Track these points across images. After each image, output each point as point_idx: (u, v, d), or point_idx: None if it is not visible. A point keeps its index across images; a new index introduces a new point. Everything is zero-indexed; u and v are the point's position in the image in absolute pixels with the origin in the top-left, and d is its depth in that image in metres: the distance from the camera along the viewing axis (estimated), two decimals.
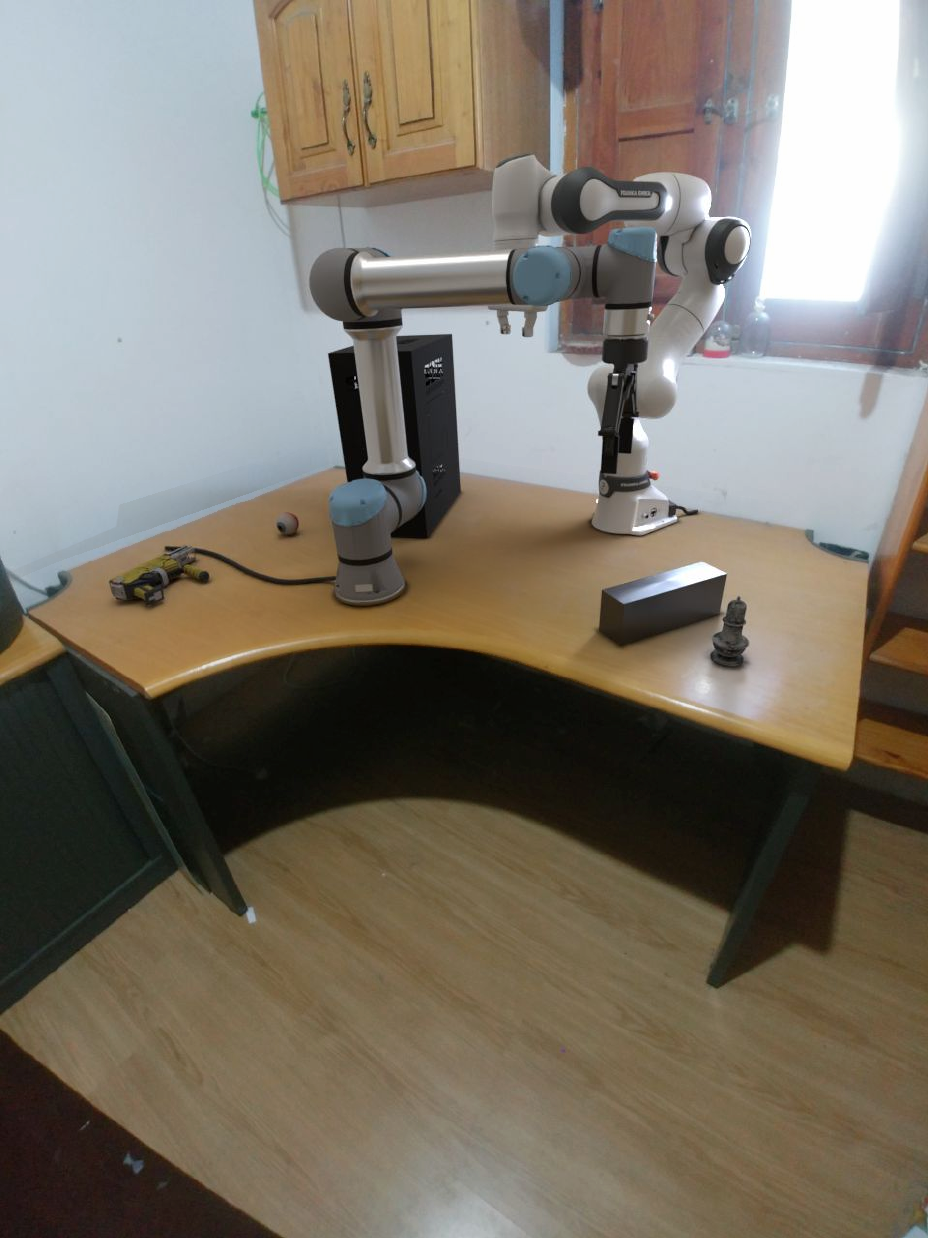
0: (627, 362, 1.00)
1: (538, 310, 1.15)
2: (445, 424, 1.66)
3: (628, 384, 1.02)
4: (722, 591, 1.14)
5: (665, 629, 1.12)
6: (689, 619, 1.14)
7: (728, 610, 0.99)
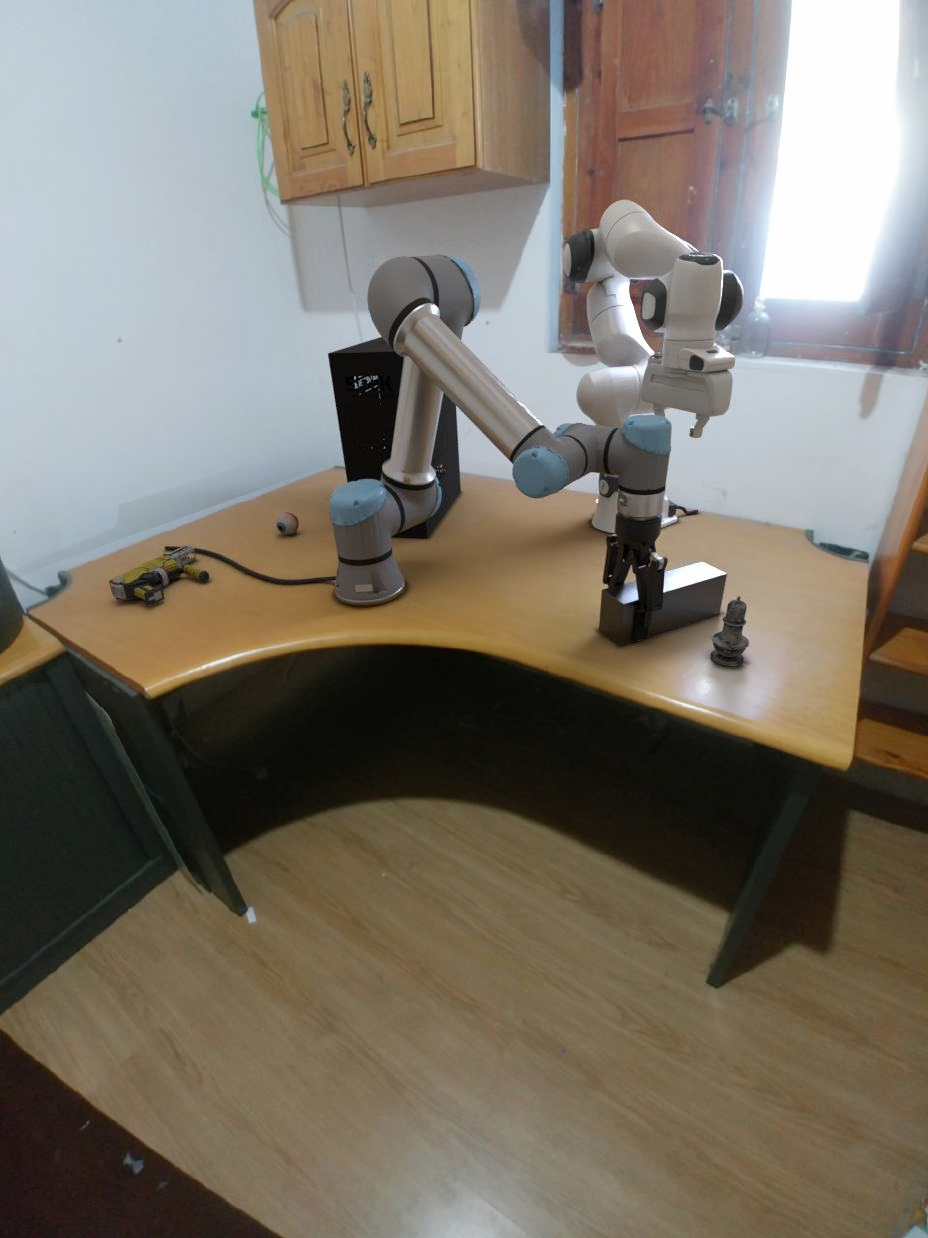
0: None
1: None
2: (445, 424, 1.66)
3: None
4: (722, 591, 1.14)
5: (665, 629, 1.12)
6: (689, 619, 1.14)
7: (728, 610, 0.99)
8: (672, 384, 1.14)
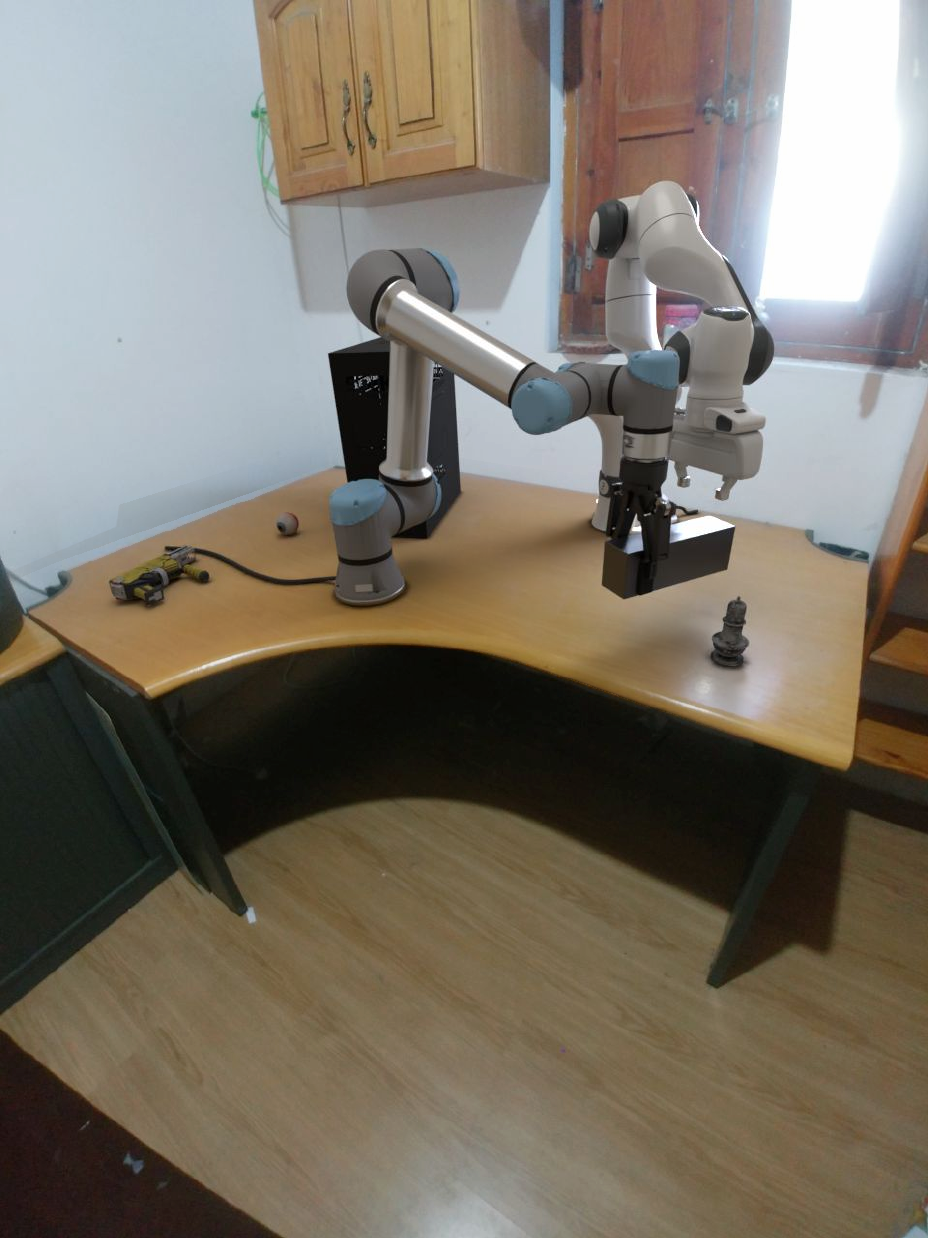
0: None
1: None
2: (445, 424, 1.66)
3: None
4: (730, 545, 1.10)
5: (671, 583, 1.07)
6: (695, 574, 1.09)
7: (728, 610, 0.99)
8: (696, 443, 1.06)
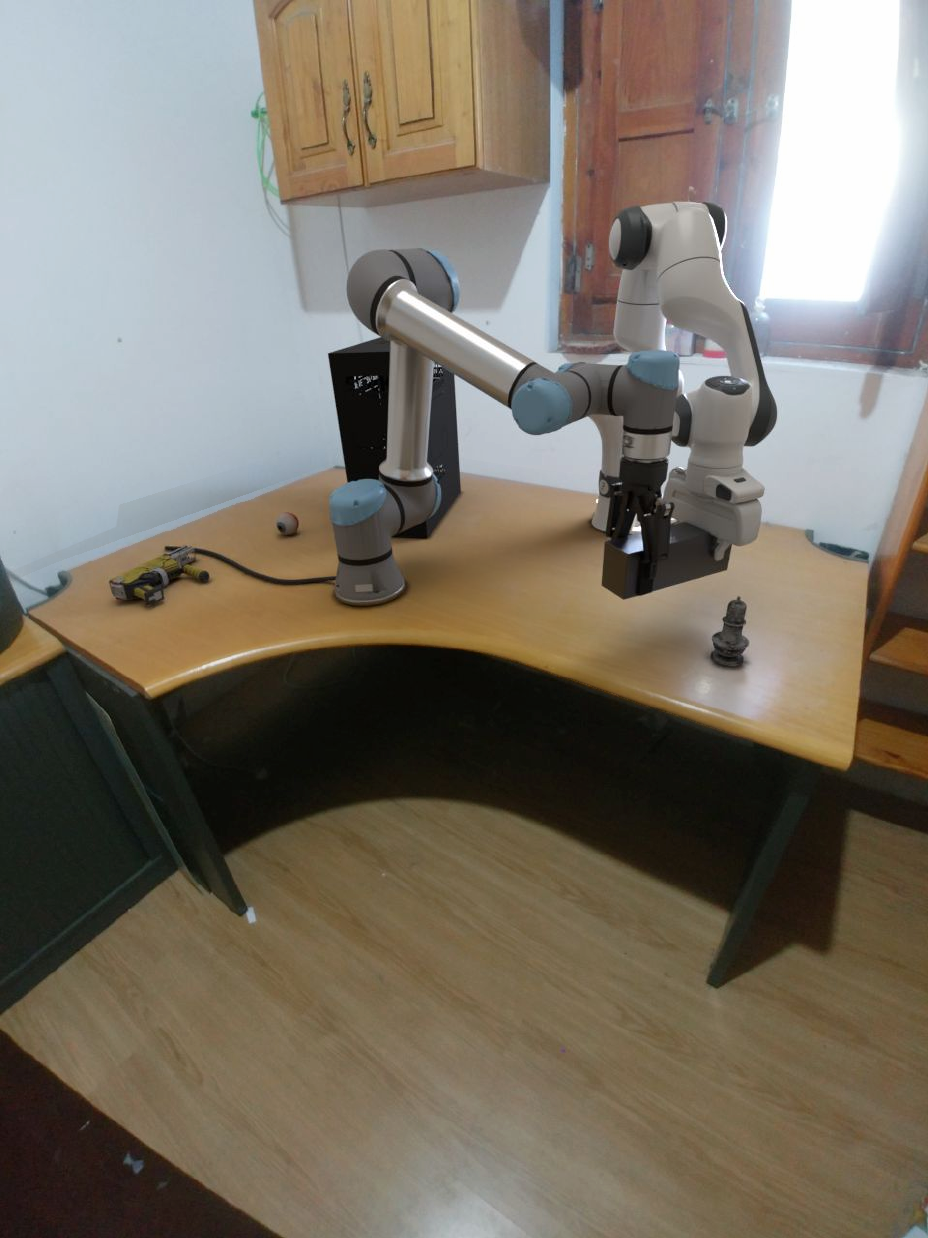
0: None
1: None
2: (445, 424, 1.66)
3: None
4: (730, 545, 1.10)
5: (670, 584, 1.07)
6: (695, 574, 1.09)
7: (728, 610, 0.99)
8: (696, 504, 1.08)
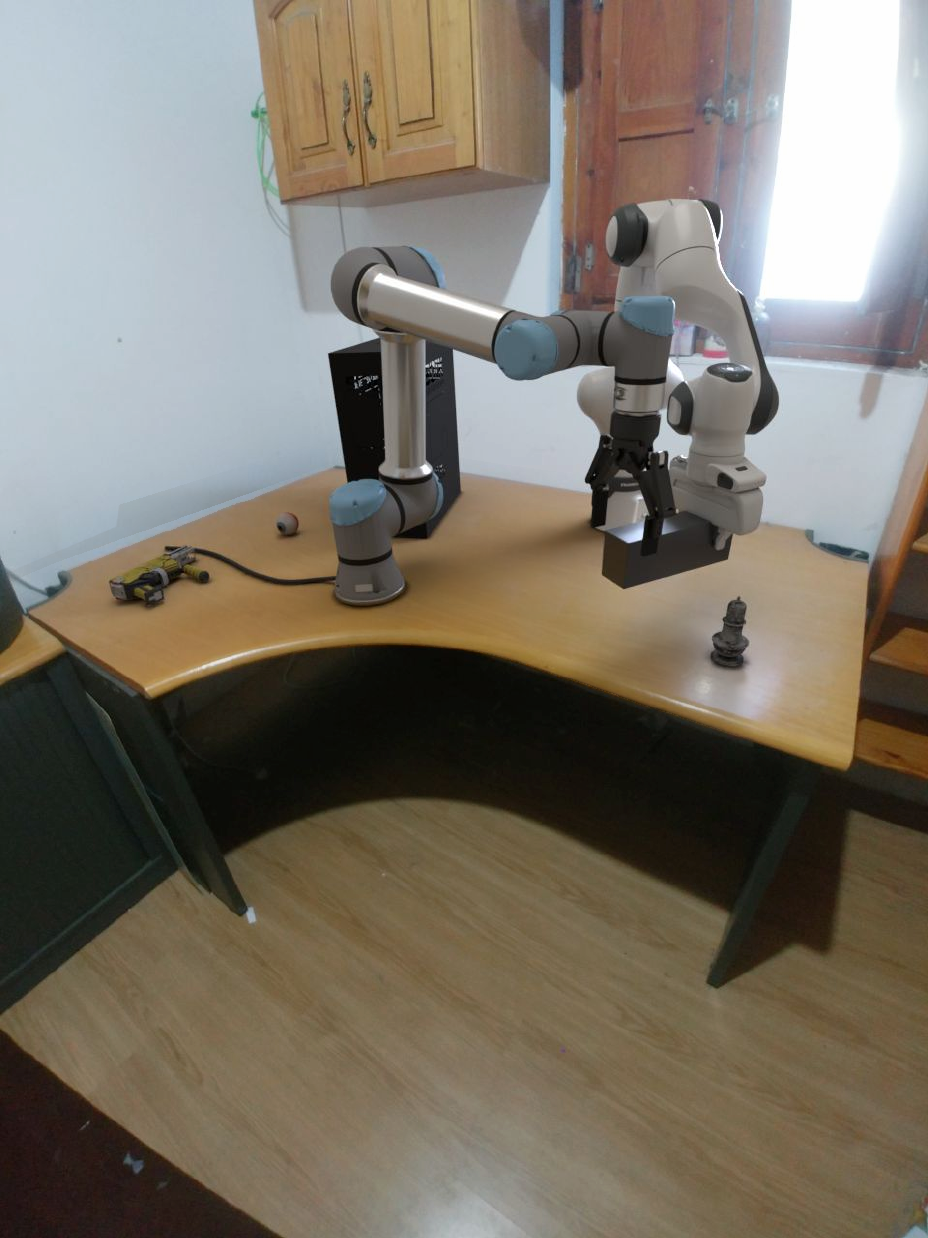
0: None
1: None
2: (445, 424, 1.66)
3: (613, 454, 0.97)
4: (731, 535, 1.09)
5: (671, 573, 1.07)
6: (696, 564, 1.08)
7: (728, 610, 0.99)
8: (697, 493, 1.07)
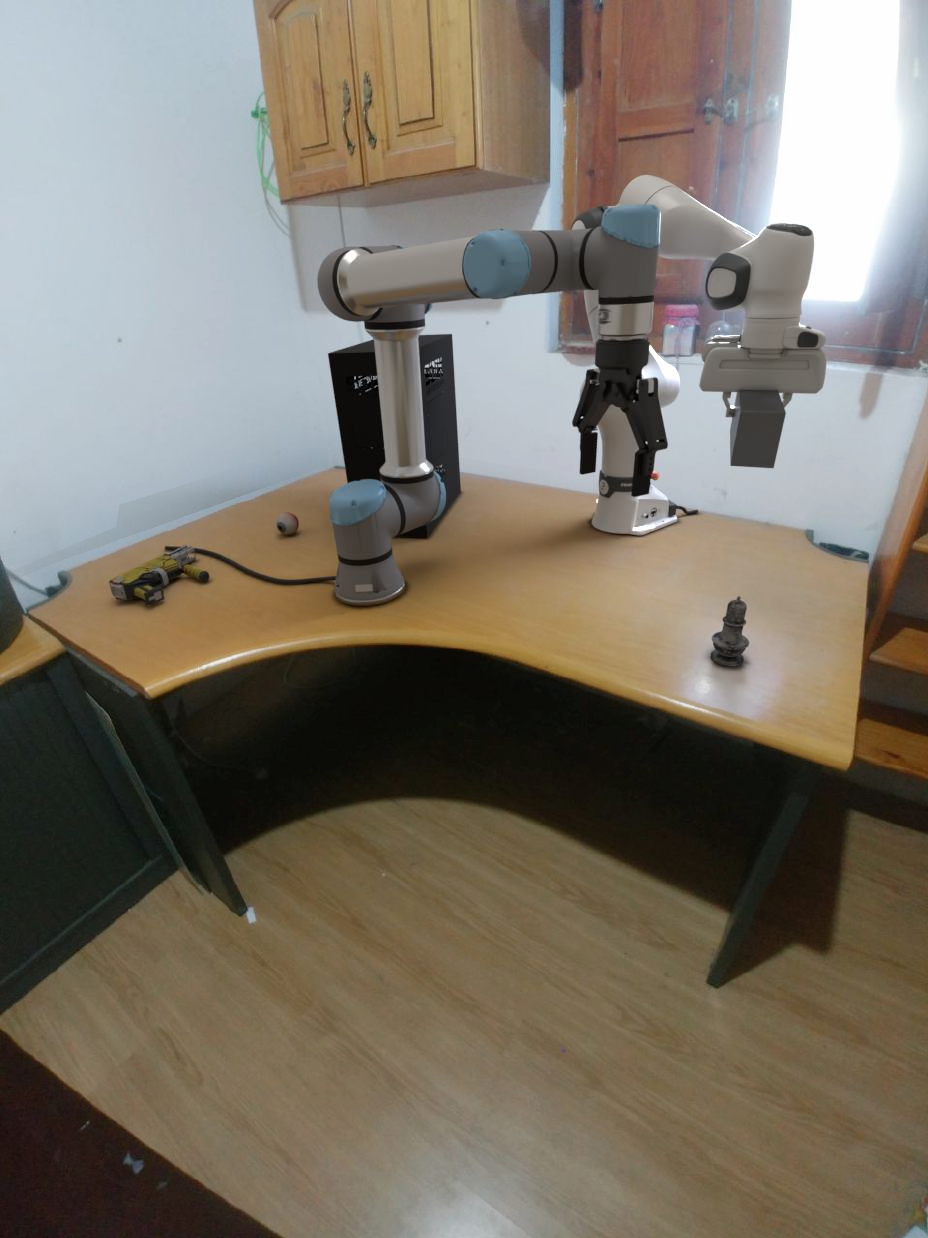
0: None
1: None
2: (445, 424, 1.66)
3: (600, 388, 0.91)
4: None
5: None
6: None
7: (728, 610, 0.99)
8: (754, 367, 1.06)
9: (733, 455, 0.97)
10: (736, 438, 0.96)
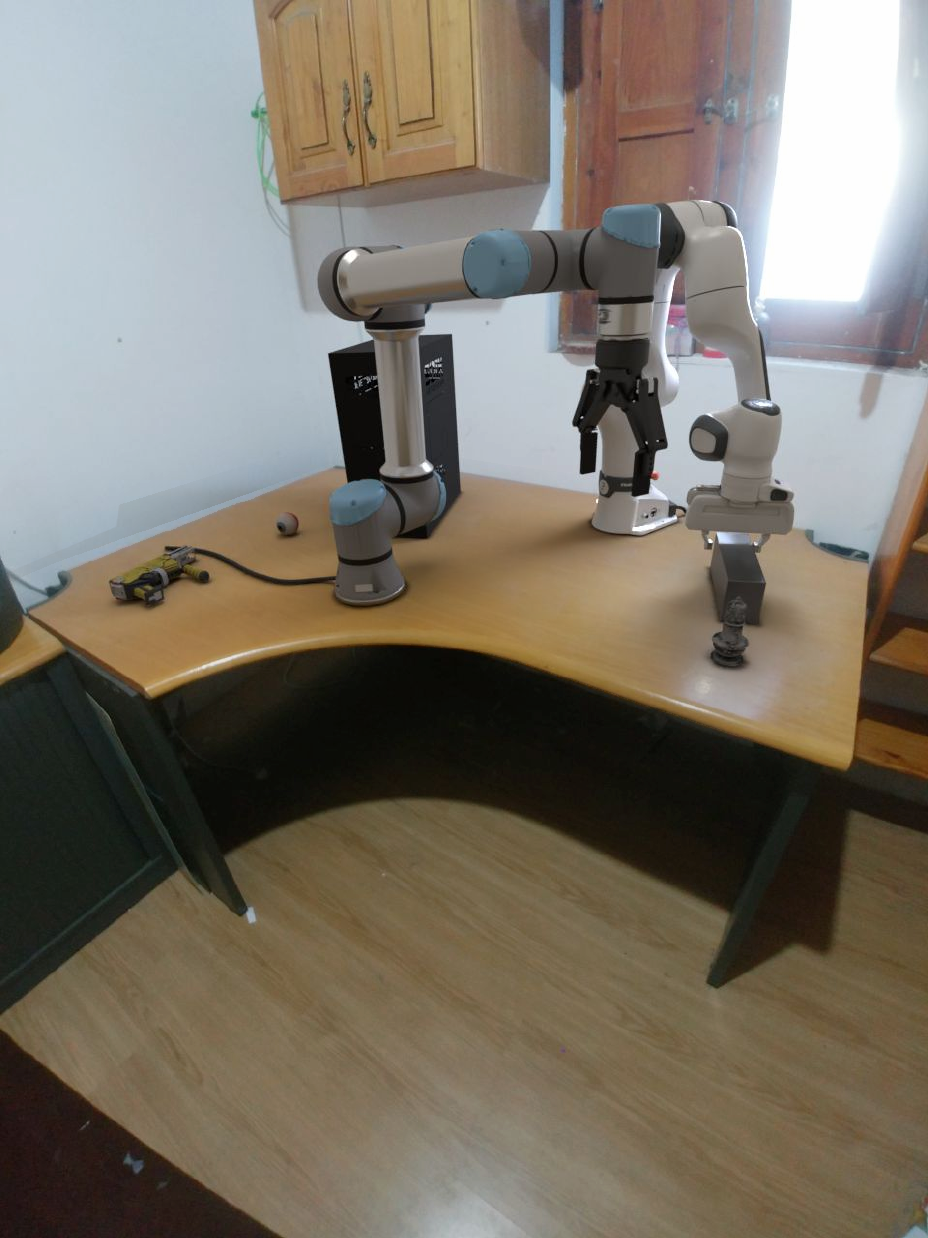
0: None
1: None
2: (445, 424, 1.66)
3: (600, 388, 0.91)
4: None
5: None
6: None
7: (728, 610, 0.99)
8: (733, 512, 1.21)
9: (722, 613, 1.13)
10: (725, 600, 1.12)
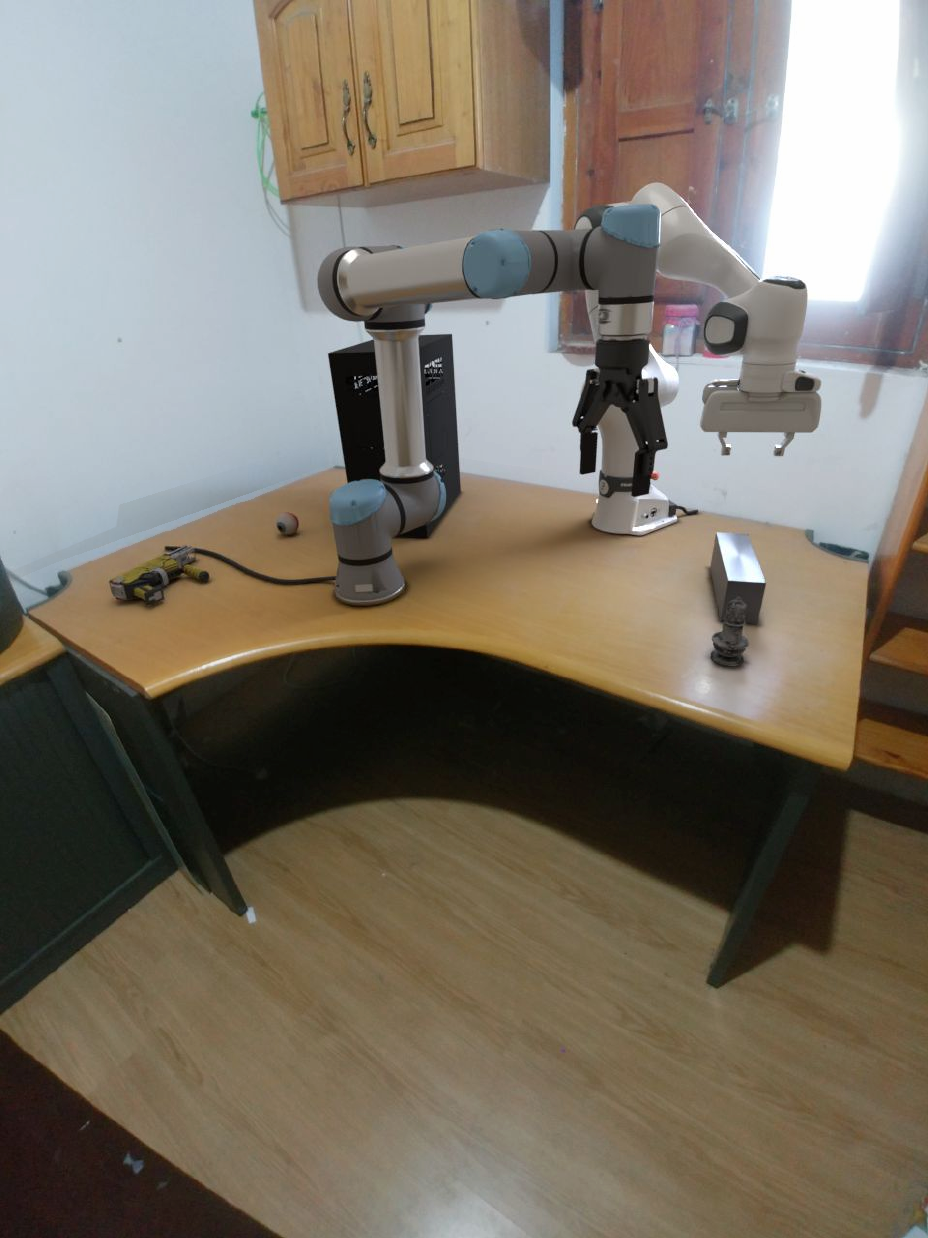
0: None
1: None
2: (445, 424, 1.66)
3: (600, 388, 0.91)
4: None
5: None
6: None
7: (728, 610, 0.99)
8: (753, 409, 1.11)
9: (722, 613, 1.13)
10: (725, 600, 1.12)
